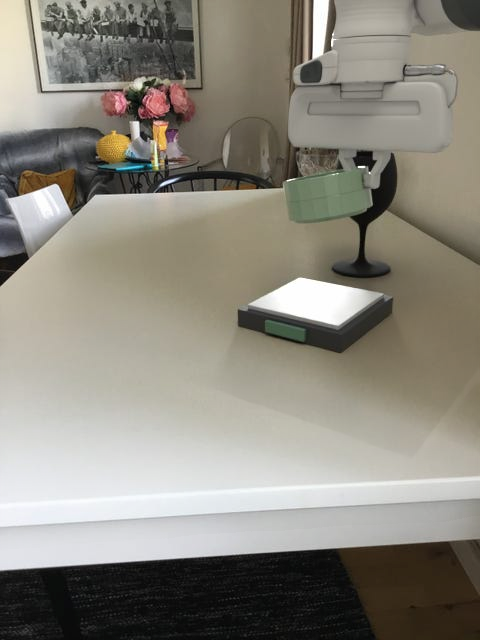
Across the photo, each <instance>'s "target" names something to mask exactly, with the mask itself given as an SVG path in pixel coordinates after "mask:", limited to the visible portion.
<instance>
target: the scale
mask: <svg viewBox="0 0 480 640" xmlns="http://www.w3.org/2000/svg"><path fill="white" fill-rule="evenodd" d="M393 305H394V296H392V295H387V294H385V293H384V292H378V291H373V290H367V289H363V288H356V287H351V286H348V285H347V286H346V285H340V284H336V283H331V282H326V281H320V280H316V279H315V280H314V279H310V278H304V277H298V278H296V279H293V280H292V281H290V282H288V283H286V284H284V285H282V286H280V287H278V288H276V289H274V290H272V291H271V292H269V293H267V294H265V295H263V296H260V297H259V298H257V299H254V300H253V301H251V302H249V303H247V304H246V305H244V306H243V305H242V306H241V307H239V308H237V326H238V327H241V328H245V329H249V330H253V331H255V332H260V333H263V334H264V333H265V334H267V335H271V336H274V337H278V338H279V337H280V338H283V339H287V340H290V341H294V342H297V343H301V344H305V345H309V346H313V347H317V348H319V349H324V350H328V351H331V352H332V351H333V352H336V353H340V354H341V353H343V352H344V351H346V350H347V349H348V348H350V347H351V346H352V345H353V344H354V343H356V342H357V341H358V340H359V339H361V338H362V337H363V336H364V335H366V334H367V333H368V332H370V331H371V330H372V329H373V328H375V327H376V326H377V325H378V324H380V323H381V322H382V321H383V320H385V319H386V318H388V317H389V316H390V315H392V313H393Z"/></svg>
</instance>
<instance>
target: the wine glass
mask: <svg viewBox="0 0 480 640" xmlns="http://www.w3.org/2000/svg"><path fill="white" fill-rule="evenodd" d="M352 159H353V161H354V164H355V166H356V167H361V166H368V171H369V172H371V171H372V169H373V167H374V165H375V164H376V162H377V160H373V150H356V157H352ZM397 167H398V166H397V161H396V156H395V153H394V152H391V156H390V160H389V162H388V163H387V165H386V166H385V168H384V169H383V171H382V172H381V173H380V185H379V187H378V188H376V189H371V195H372V203H373V205H372V206H371V207H369V208H367V211H365V212H363V213H361V214H357V215H354V216H350V217H349V218H350V219H351V220H352V221H353V222H354V223H356V224H357V227H358V230H359V231H358V233H359V243H358V244H359V245H358V253H357V258H347V259H340V260H338V261H335V262H334V263H333V264H332V265H331V269H332V271H333V272H334V273H335V274H337V275H340V274H341V275H340V276H345V277H349V276H350V278H358V277H359V279H360V278H361V279H367V278H370V279H371V278H377V277H378V278H379V277H383V276H385V275H388V274H389V273H390V272H391V266H390V265H389V264H388V263H386V262H384V261H381V260H377V259H370V258H366V237H367V230H368V227H369V225H370V224H371V223H372V222H374V221H376V220H377V219H378V218H380V217H381V216H382V215H383V214H384V213H385V212H386V211H387V210H388V209H389V207H390V206H391V205H392V203H393V201H394V199H395V196H396V193H397V187H398V168H397ZM341 169H344V168H343V166H342V164H341V162H340V160H339V159H338V161H337V165H336V169H335V170H341Z"/></svg>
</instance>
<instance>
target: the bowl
mask: <svg viewBox="0 0 480 640" xmlns="http://www.w3.org/2000/svg"><path fill="white" fill-rule="evenodd" d="M368 172H369V171H368V166H361V167H356V170H351V171H347V172H345V170H344V169H341V170H336V169H335V170H331V171H324V172H320V173H315V174H310V175H304V176H301V177H296V178H291V179H287V180H284V181H282V188H283V194H284V199H285V205H286V211H287V217H288V221H289V222H294V223H295V224H302V225H304V224H315V223H323V222H329V221H335V220H336V221H337V220H340V219H345V218H350V216H354V215H357V214H361V213H363V212H365V211H367V208H369V207H371V206H372V205H373V203H372V195H371V189H370V188H364V187H363V182H364V180H363V175H364V174H365V173H368Z"/></svg>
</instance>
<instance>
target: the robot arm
mask: <svg viewBox="0 0 480 640" xmlns="http://www.w3.org/2000/svg"><path fill="white" fill-rule="evenodd" d="M333 3H334V7H335V24H334V27H333V28H334V29H333V30H332V31H333V32H332V35H331V50H329V51H327V52H325V53H323V54H321V55H319V56H317V57H314V58H312V59H310V60H308V61H305V62H303V63H300V64H299V65H296V66H295V67H294V69H293V72H292V79H293V83H294V84H295V85H296V86H298V87H296V88H295V89H294V90H293V92H292V94H291V97H290V101H289V107H288V119H287V137H288V140H289V142H290V143H291V145H292V147H294V148H306V149H309V148H311V149H328V150H329V149H330V150H338V161H339V160H340V162H341V164H342V166H343V168H344V170H345V172H347V171H351V170H356V166H355V164H354V161H353V159H352V157H356V151H373V160H377V162H376V164H375V165H374V167H373V169H372V171H371V172H368V173H365V174H364V175H363V180H364V182H363V187H364V188H370V189H376V188H378V187H379V185H380V173H381V172H382V171H383V169H384V168H385V166H386V165H387V163H388V162H389V160H390V156H391V153H392V152H401V153H402V152H403V153H423V154H424V153H425V154H439V153H441V152H444V151H446V150H447V148H448V147H450V145H451V144H452V142H453V136H454V134H453V133H454V107H453V106H454V105H453V104H454V103H455V101H456V99H457V95H458V89H459V77H458V75H457V73H456V72H455V71H454V70H453V69H452V68H449V67H447V65H446V64H445V63H433V64H410V63H409V62H410V51H411V37H412V34H416V35H420V36H424V37H434V36H441V35H453V34H460V33H465V32H480V0H333ZM446 73H448V74H446Z"/></svg>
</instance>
